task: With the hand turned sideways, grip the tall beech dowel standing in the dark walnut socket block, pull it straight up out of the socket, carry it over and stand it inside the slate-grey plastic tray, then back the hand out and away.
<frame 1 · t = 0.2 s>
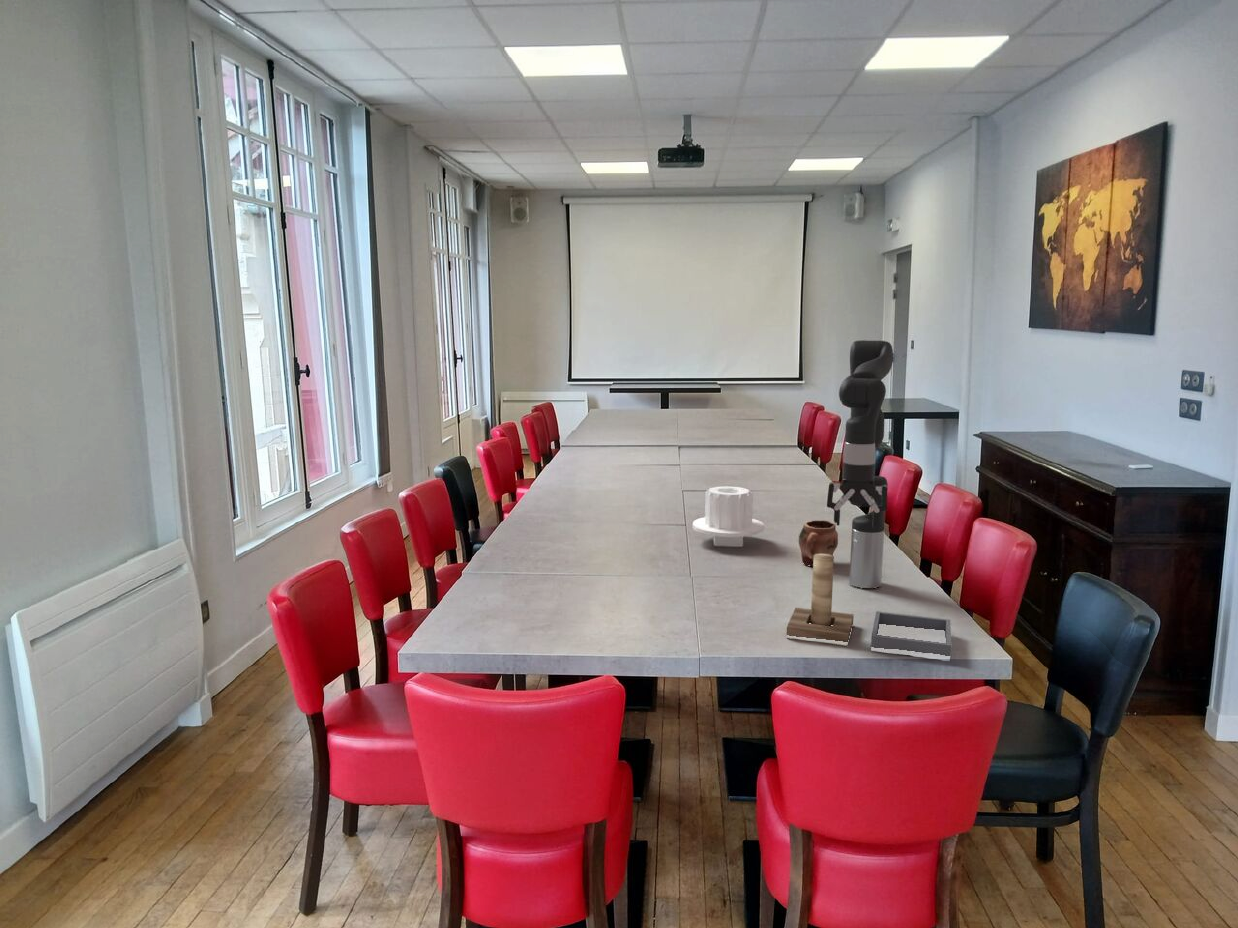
hand: (855, 525, 211), 29 cm above the table, tool pointing down, fingers open, 8 cm apart
lamp base: (727, 543, 303), on the table
slate grey tray: (910, 642, 212), on the table
beech dowel: (822, 594, 218), in the walnut socket block
decorative planter: (816, 566, 276), on the table
walnut socket block: (820, 631, 220), on the table
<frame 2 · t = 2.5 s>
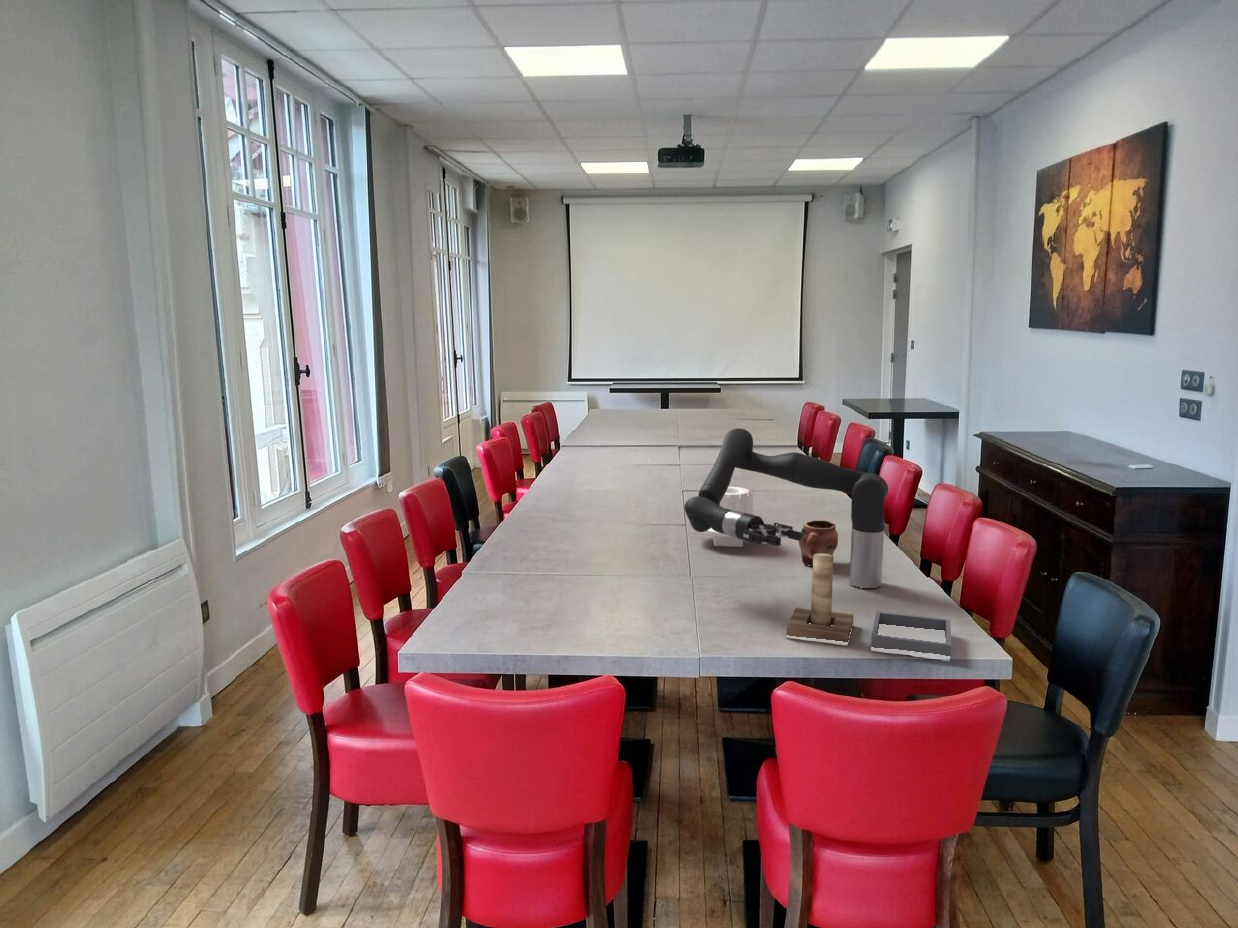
hand: (790, 539, 224), 22 cm above the table, tool horizontal, fingers open, 8 cm apart
nothing on the table moved.
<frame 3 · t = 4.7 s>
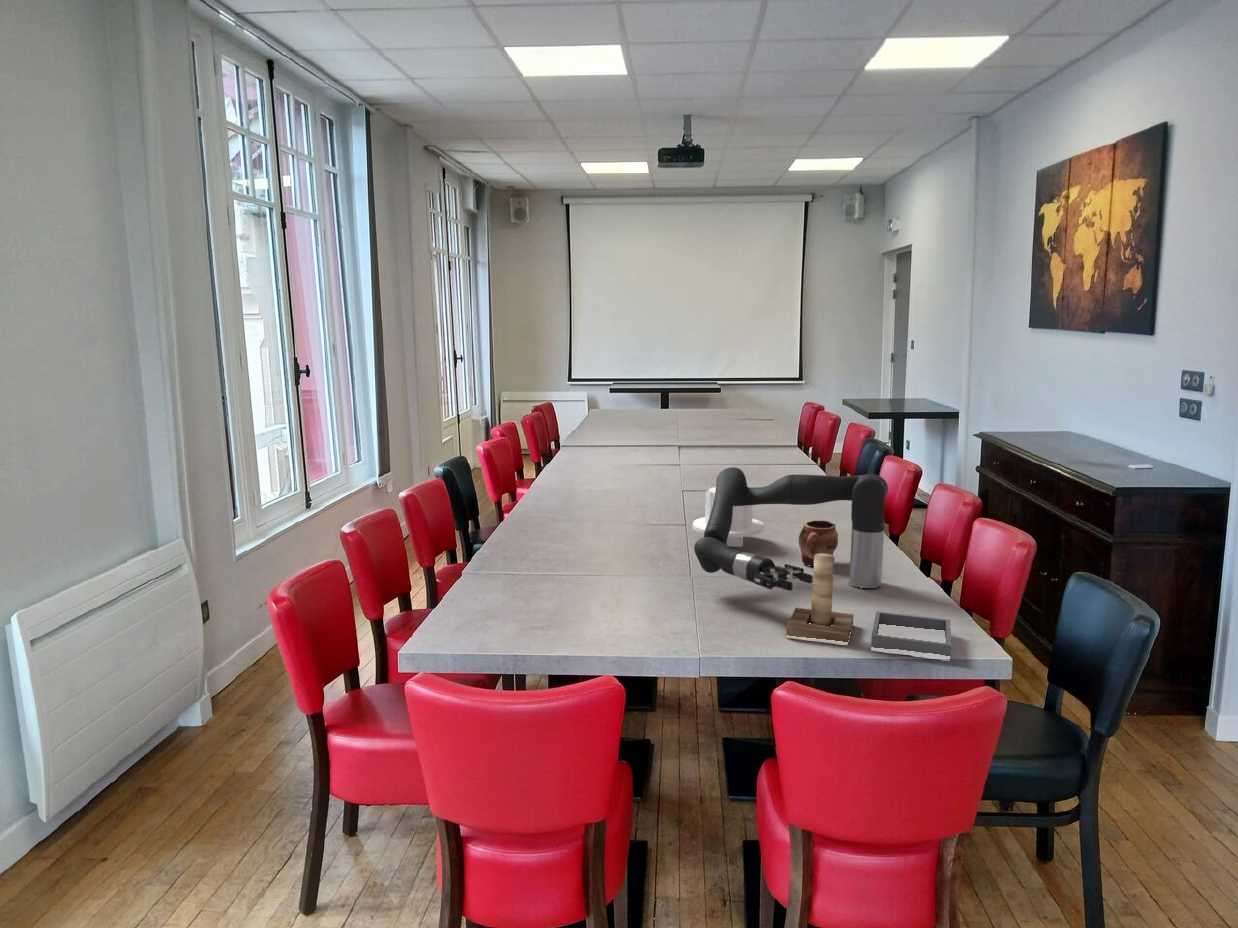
hand: (801, 583, 223), 11 cm above the table, tool horizontal, fingers open, 8 cm apart
nothing on the table moved.
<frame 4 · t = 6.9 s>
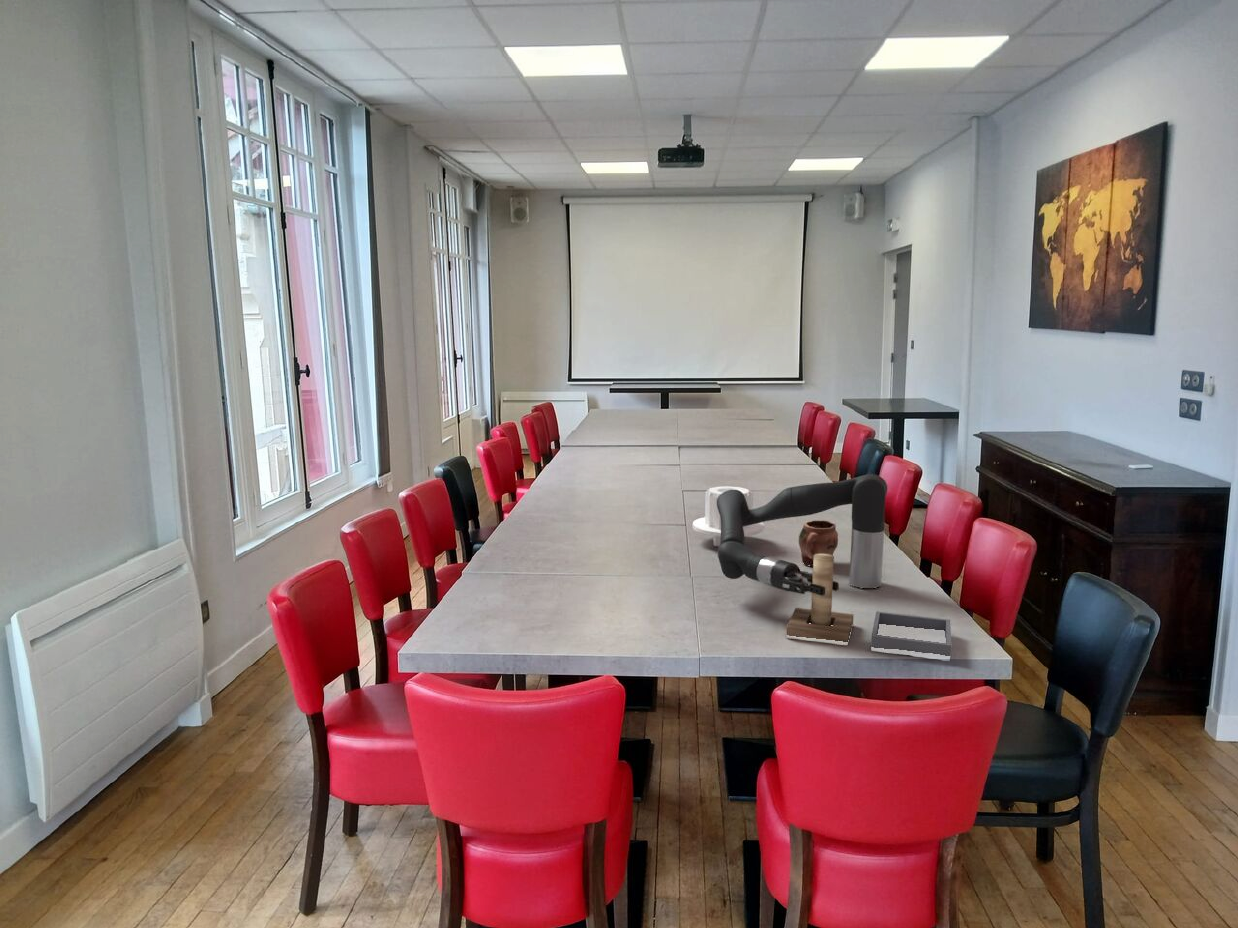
hand: (830, 589, 216), 12 cm above the table, tool horizontal, fingers closed on beech dowel, 5 cm apart
beech dowel: (822, 594, 218), in the walnut socket block, touching gripper
everything else where it was.
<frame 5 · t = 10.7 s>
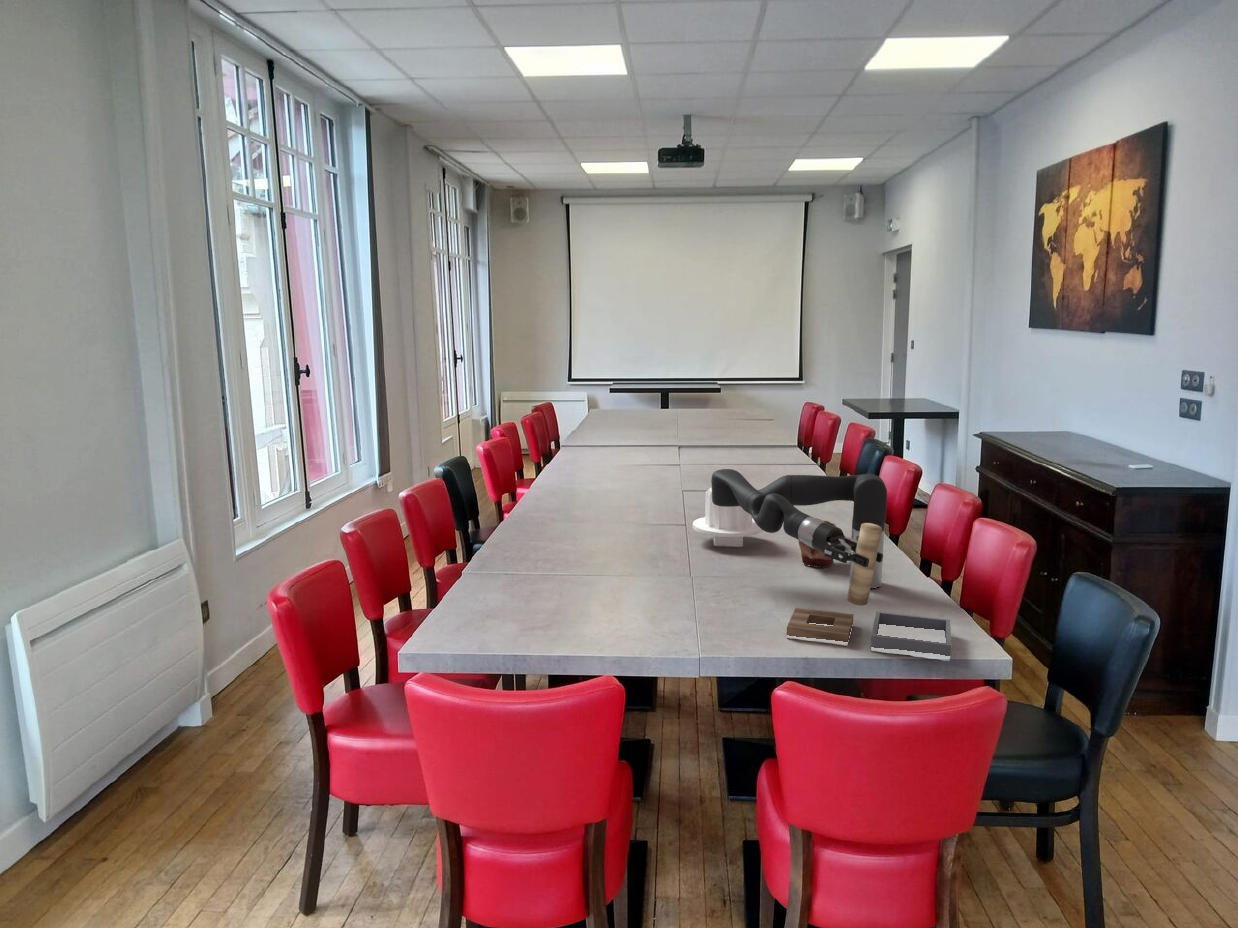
hand: (874, 560, 208), 21 cm above the table, tool horizontal, fingers closed on beech dowel, 5 cm apart
beech dowel: (864, 564, 211), point 20 cm above the table, tilted 10°, touching gripper
everything else where it was.
when the fingers open (14 cm above the table, at t = 14.6 s): beech dowel stays where it is, resting on slate grey tray.
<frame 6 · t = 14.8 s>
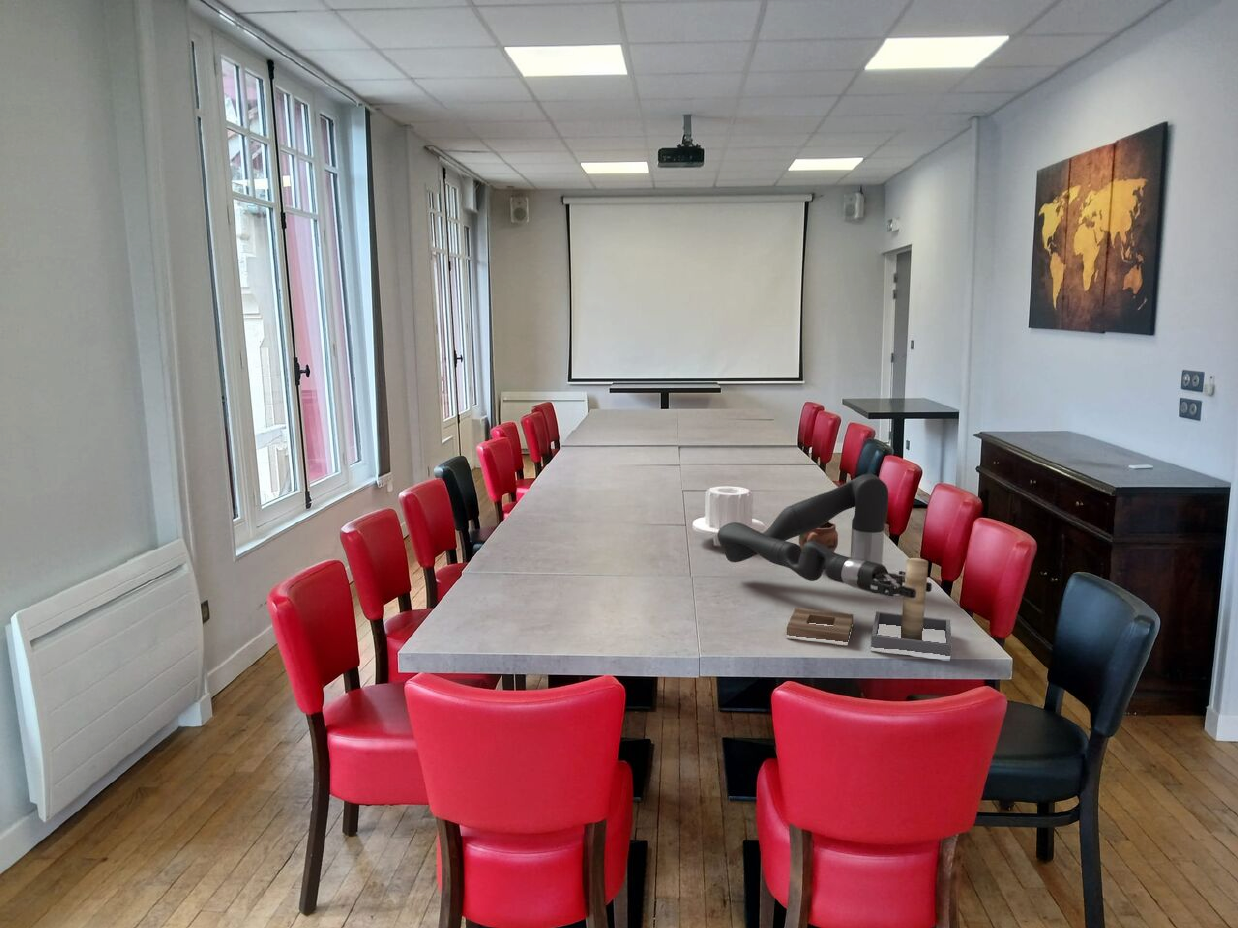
hand: (922, 590, 208), 14 cm above the table, tool horizontal, fingers open, 6 cm apart
beech dowel: (914, 600, 210), in the slate grey tray, point 11 cm above the table
everything else where it was.
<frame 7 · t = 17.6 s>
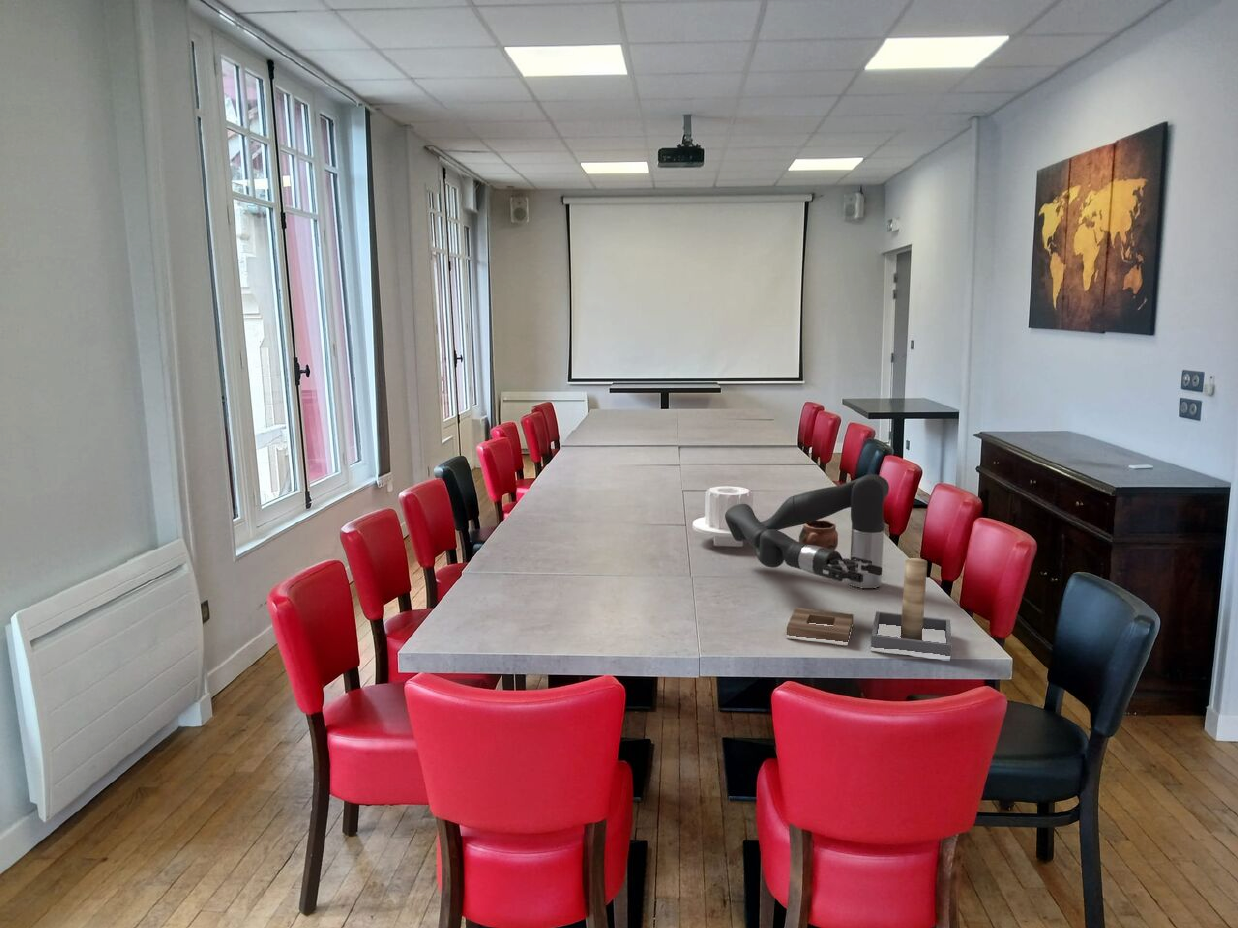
hand: (872, 575, 218), 15 cm above the table, tool horizontal, fingers open, 8 cm apart
nothing on the table moved.
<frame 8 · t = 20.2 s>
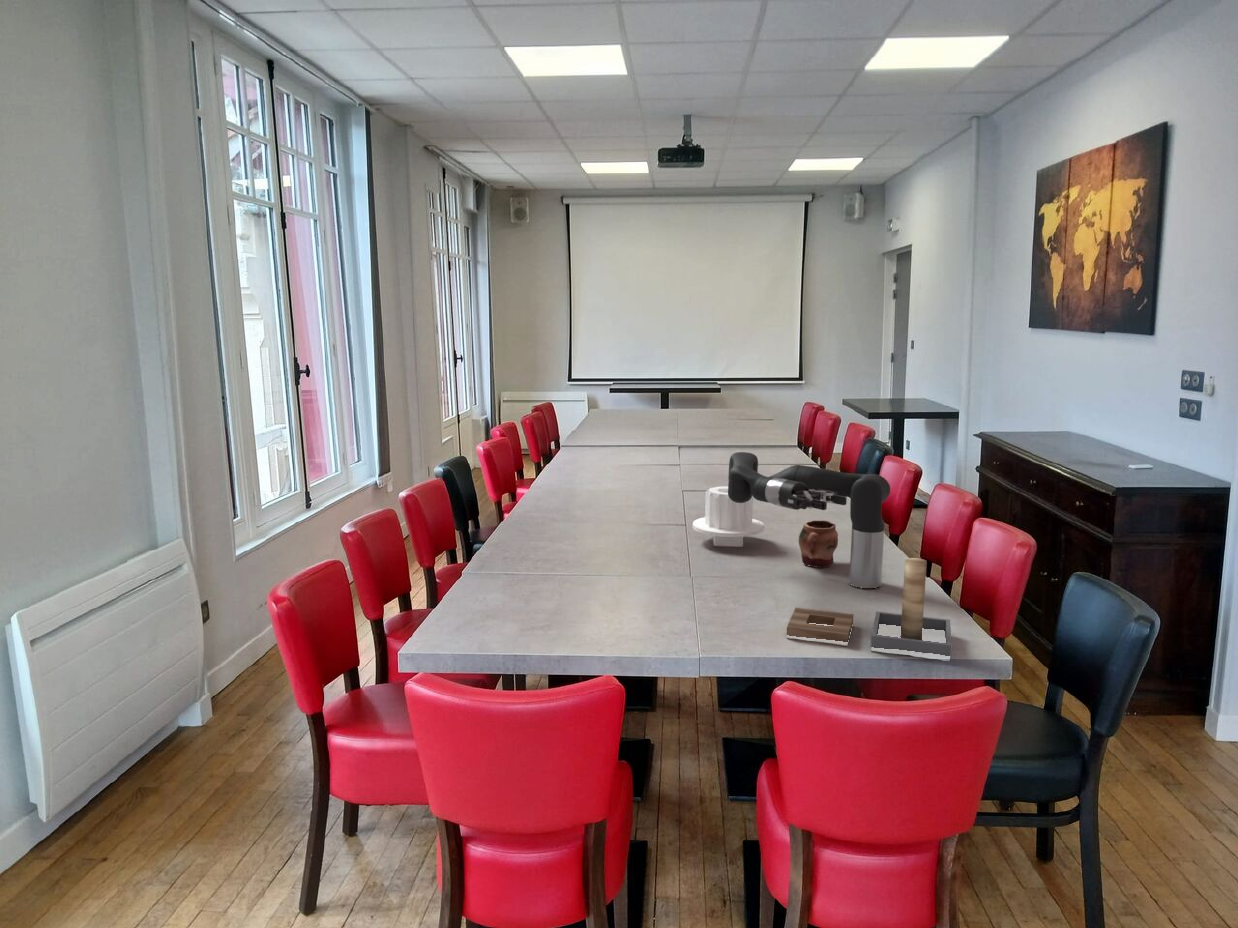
hand: (835, 503, 221), 32 cm above the table, tool horizontal, fingers open, 8 cm apart
nothing on the table moved.
at the end: beech dowel inside the target area on the slate grey tray (0.1 cm from its centre), point 11.0 cm above the slate grey tray's base; beech dowel tilted 0°; the gripper is holding nothing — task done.
